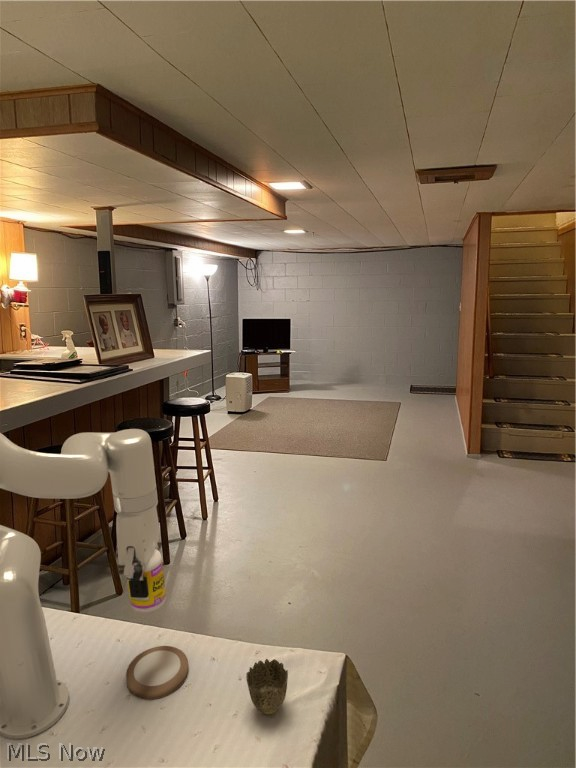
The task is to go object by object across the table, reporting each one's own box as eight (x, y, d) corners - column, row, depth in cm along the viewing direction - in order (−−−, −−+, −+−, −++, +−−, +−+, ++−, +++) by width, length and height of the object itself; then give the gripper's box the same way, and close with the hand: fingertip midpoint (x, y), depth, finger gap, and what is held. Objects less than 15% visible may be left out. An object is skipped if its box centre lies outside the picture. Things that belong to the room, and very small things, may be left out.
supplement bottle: (157, 615, 102) (150, 554, 99) (124, 612, 104) (115, 551, 100) (171, 592, 109) (165, 534, 105) (140, 589, 110) (132, 531, 106)
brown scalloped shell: (242, 702, 104) (239, 667, 102) (278, 687, 107) (276, 652, 105) (259, 733, 98) (256, 697, 95) (296, 716, 101) (295, 680, 98)
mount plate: (117, 698, 106) (116, 691, 105) (138, 651, 117) (137, 644, 117) (180, 700, 105) (179, 692, 104) (194, 652, 116) (194, 645, 116)
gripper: (131, 476, 109) (141, 556, 114) (96, 523, 92) (109, 614, 97) (169, 476, 108) (177, 557, 113) (140, 523, 91) (152, 615, 97)
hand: (146, 583), depth 105 cm, fingers closed on supplement bottle, 6 cm apart
